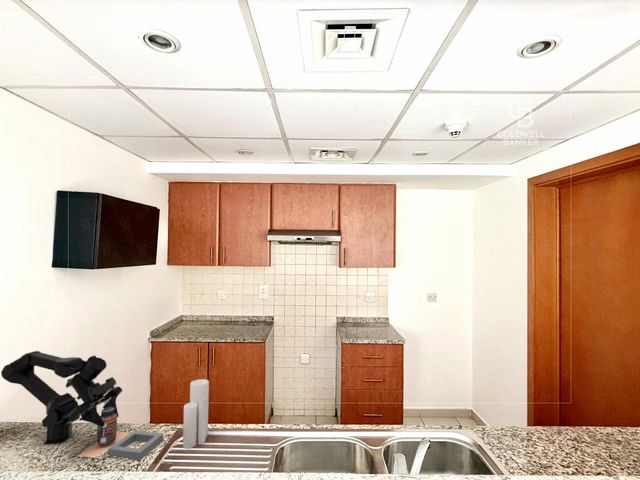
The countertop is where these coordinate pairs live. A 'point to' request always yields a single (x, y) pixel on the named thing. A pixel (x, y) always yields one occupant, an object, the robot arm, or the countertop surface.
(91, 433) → the countertop surface
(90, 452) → the terracotta mat
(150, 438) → the filter housing collar
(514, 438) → the countertop surface
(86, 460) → the countertop surface
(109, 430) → the supplement bottle
